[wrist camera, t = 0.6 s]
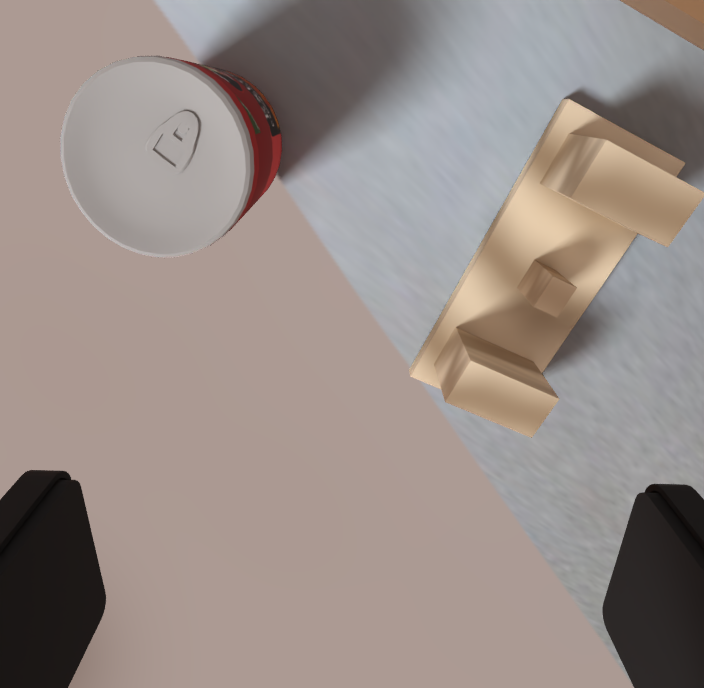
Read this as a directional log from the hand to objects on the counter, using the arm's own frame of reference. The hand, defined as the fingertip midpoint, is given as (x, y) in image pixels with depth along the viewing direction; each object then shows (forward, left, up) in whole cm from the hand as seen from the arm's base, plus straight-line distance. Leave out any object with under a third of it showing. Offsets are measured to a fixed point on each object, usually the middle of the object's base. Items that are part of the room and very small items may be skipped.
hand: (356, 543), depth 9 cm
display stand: (-2, +12, -27) cm, 29 cm away
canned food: (-1, -9, -27) cm, 28 cm away
